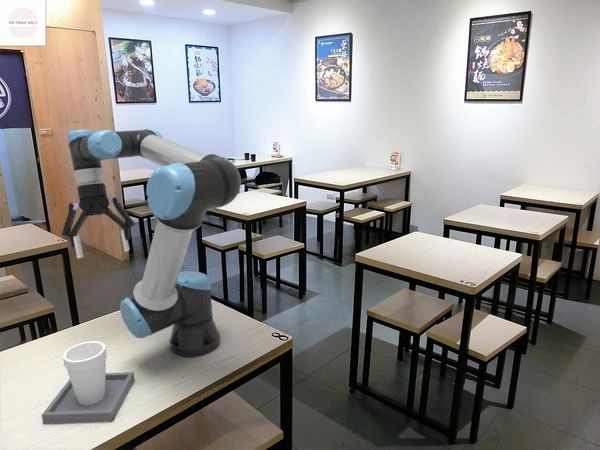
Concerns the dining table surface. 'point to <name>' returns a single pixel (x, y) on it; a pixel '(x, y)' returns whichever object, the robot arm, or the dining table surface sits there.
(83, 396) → the foam cup
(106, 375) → the serving tray
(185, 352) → the robot arm
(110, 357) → the dining table surface
